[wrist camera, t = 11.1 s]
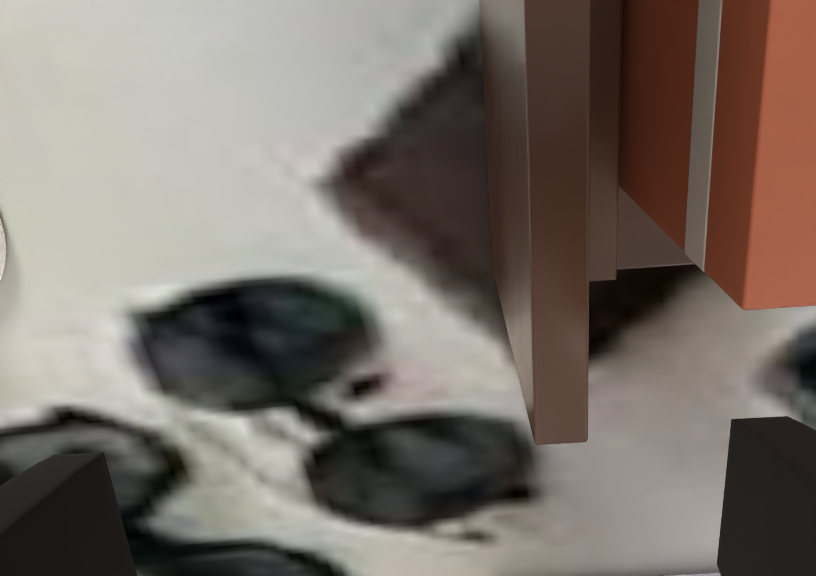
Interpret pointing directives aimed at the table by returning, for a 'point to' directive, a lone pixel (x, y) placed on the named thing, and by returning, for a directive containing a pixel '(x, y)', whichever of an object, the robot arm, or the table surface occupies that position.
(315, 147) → the table surface
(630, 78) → the terracotta book
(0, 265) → the chess piece
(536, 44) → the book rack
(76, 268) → the table surface
